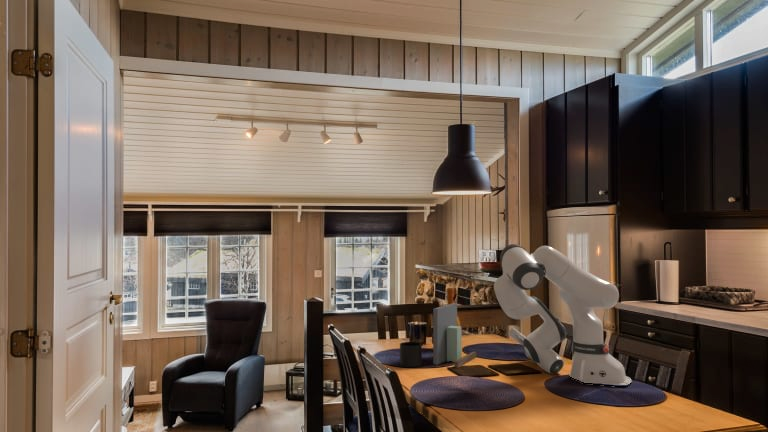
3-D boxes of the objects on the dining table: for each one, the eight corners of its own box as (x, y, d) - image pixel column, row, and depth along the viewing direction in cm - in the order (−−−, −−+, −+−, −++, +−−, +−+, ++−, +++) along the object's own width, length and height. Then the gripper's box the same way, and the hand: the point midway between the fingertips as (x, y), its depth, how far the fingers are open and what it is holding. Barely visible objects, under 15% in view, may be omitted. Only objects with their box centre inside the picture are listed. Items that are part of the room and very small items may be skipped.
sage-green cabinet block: (461, 360, 237) (461, 326, 238) (457, 362, 233) (457, 328, 234) (451, 358, 240) (451, 325, 241) (446, 361, 236) (446, 327, 236)
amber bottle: (454, 351, 254) (454, 289, 255) (436, 349, 260) (436, 288, 261) (464, 348, 262) (464, 287, 263) (446, 345, 268) (446, 286, 269)
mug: (414, 360, 237) (414, 340, 237) (425, 366, 226) (425, 345, 226) (394, 361, 234) (394, 341, 234) (404, 368, 223) (404, 346, 223)
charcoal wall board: (476, 357, 243) (476, 304, 244) (458, 367, 224) (457, 310, 225) (453, 354, 249) (453, 303, 250) (433, 364, 230) (433, 308, 231)
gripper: (515, 344, 224) (498, 330, 236) (545, 366, 231) (528, 351, 244) (524, 332, 224) (507, 319, 236) (554, 354, 231) (536, 340, 244)
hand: (518, 335), depth 240 cm, fingers open, 8 cm apart
